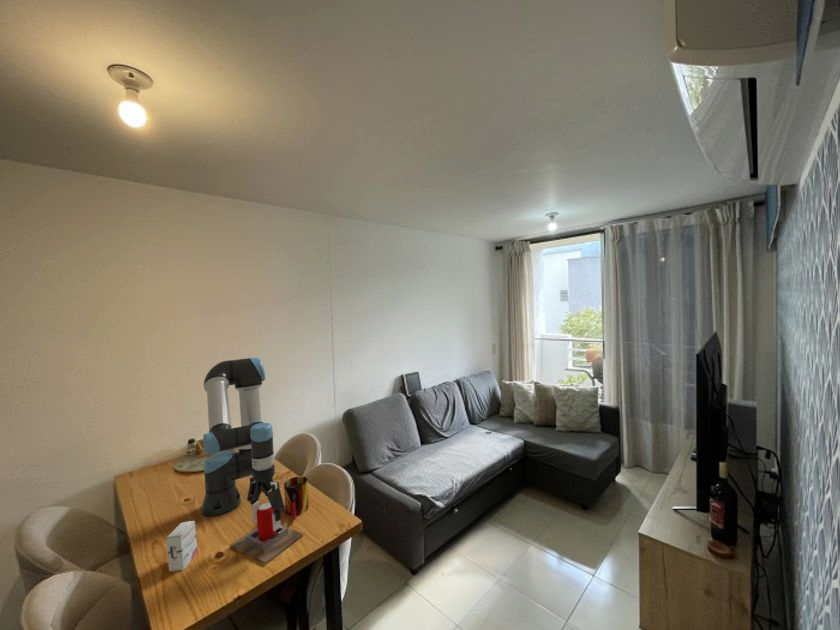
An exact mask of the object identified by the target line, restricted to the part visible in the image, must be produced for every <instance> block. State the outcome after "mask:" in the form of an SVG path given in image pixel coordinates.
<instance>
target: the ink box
mask: <svg viewBox="0 0 840 630" xmlns="http://www.w3.org/2000/svg"><path fill="white" fill-rule="evenodd" d="M196 531H197V530H196V521H195V520H188V521H183V522H181V523H179V524H178V525H177V526H176V527H175V528H174V529H173V530H172V532H170V533H169V535H168V536H166V538H165V540H166V550H167V551H166V552H167V562H168V571H169V572H177V571H184V570H185V569H186V567H187V566H188V565H189V564H190V563H191V562H192V560H193V559H194V557H195V556H196V555H197V554H198V543H197V533H196Z"/></svg>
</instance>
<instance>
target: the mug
mask: <svg viewBox="0 0 840 630" xmlns="http://www.w3.org/2000/svg"><path fill="white" fill-rule="evenodd" d="M283 489H284V490H283V493H284V495H283V496H284V507H285V509H284V511H285V514H286V515H287V516H289V517H292V521H296V519H297V516H299V515H302V514H304V513H306V512H307V511H308V510H309V508H310V501H309V499H310V498H309V484H308V477H306V476H293V477H291V478H289V479H287V480H286V481H285V482H284V483H283Z"/></svg>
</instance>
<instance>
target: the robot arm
mask: <svg viewBox="0 0 840 630" xmlns="http://www.w3.org/2000/svg"><path fill="white" fill-rule="evenodd" d="M264 381H266V373H265V368H264V365H263V362H262V360H261V359H260V358H259V357H248V358H239V359H231V360H223V361H220V362H218V363H216V364H215V365H214V366H213V367H212V368H210V369H209V371H208V372H207V374H206V376H205V377H204V380H203V389H204V391H205V392H206V398H207V415H208V416H207V417H208V432H207V433H205V434H203V437H202V438H203V452H204V454H205V455H210V454H212V455H210V456H209V457H207V458H206V459H205V460H204V463H203V467H204V468H203V473H204V491H205V494H204V497H203V501H202V504H201V514H202V515H203V516H206V517H215V516H221V515H224V514H227V513H229V512H231V511H233V510H234V509H236V508H237V507H238V506H239V505H241V502H242V501H241V500H242V498H241V494H240V492H239V490H238V488H237V485H236V480H240V479H244V478H247V477H250V476H252V477H250V478H249V486H248V487H249V488H248V492H247V496H246V498H247V499H246V501H248V502H249V503H250V505H251V513H252V514H251V517H252V518H251V519H252V522H253V523H255V522H257V510H258V508H259V507H260V506H261V504H260V501H259V500H260V497H261V495H262V493H264V496H265V497H267V499H268V501H269V502H268V503H270V504H271V507H272V509H273V511H274V512H273V513H272V519H273V531H275V530H277V529H278V528H280V527H281V525H282V524H281V523H282V522H281V519H282V515H281V514H282V512H283V511H285V502H284V500H283V496H282V493H281V490H280V482H279V481H277V482H274V479H273V477H274V476H275V474H276V471H275V467H276V466H275V451H274V431H273V425H272V423H269V422H263V421H262V413H261V412H262V411H261V401H260V388H261V387H262V386H263V382H264ZM230 386H234V389H235V390H236V391H237V392H238V398H239V411H240V426H237V427H232V421H231V413H230V412H231V410H230V403H229V394H228V392H229V391H228V389H229V387H230ZM236 448H238V451H237V452H235V451H234V449H236Z"/></svg>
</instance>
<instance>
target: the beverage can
mask: <svg viewBox="0 0 840 630" xmlns="http://www.w3.org/2000/svg"><path fill="white" fill-rule="evenodd" d="M273 512H274V511H273V509H272V507H271V504H270V502H266V503H263V504H260V507H259V508H258V510H257V521H256V522H257V524H256V525H257V527H258V536H259V540H260V541H267V540H268V539H270V537H271V536H273V535H274V534H276V533H277V531H276V530H275V531H273V519H272V513H273Z"/></svg>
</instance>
